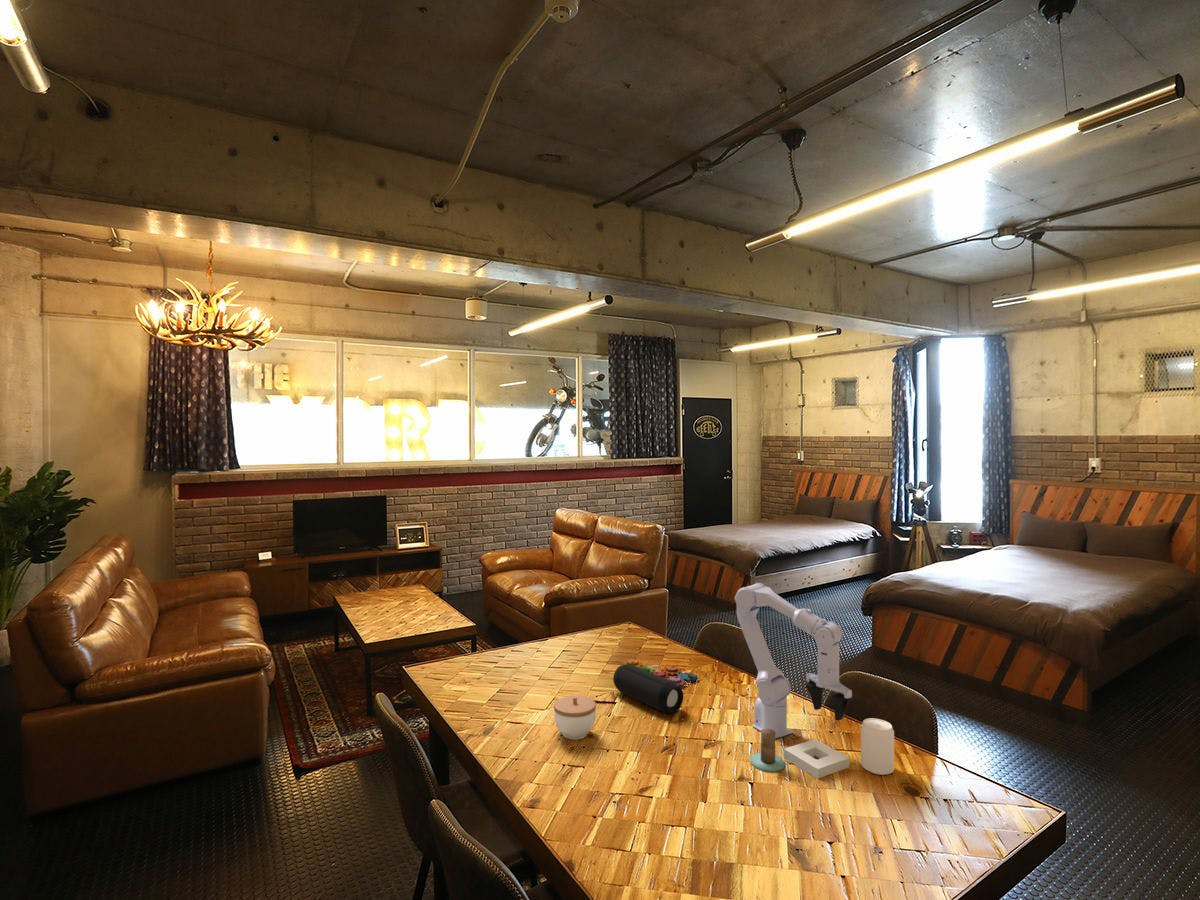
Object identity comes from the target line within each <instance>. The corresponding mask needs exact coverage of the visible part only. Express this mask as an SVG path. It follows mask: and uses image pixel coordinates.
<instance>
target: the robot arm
mask: <svg viewBox="0 0 1200 900" xmlns="http://www.w3.org/2000/svg"><path fill="white" fill-rule="evenodd" d="M733 600H734V601H735V604H736V618H737V621H738V624H739V626H740V628H741V631H742V634H743V636H744V639H745V641H746V644H747V646H748V649H749V651H750V654H751V656H752V659H753V660H752V661H753V662H754V665H755V667H756V669H757V675H756V676H757V677H756V679H755V682H756V685H757V695H758V698H756V700H755V702H754V706H753V707H754V709H753V711H754V719H753V720H754V724H752V725H751V726H752V727H753V728H754V729H756V730H758V731H760V732H761V730H762V729H764V728H768V729H772V730H774V731H775V740H776V739H778V738H782V737H785V736H788V735H791V734H794V731H793V730H791V729H790V728H788V727H787V726H788V723H787V722H788V721H787V720H788V719H787V718H788V717H787V715H788V714H787V713H788V710H787V709H788V705H787V704H788V703H787V700H788V699H787V698H788V696H789V695H790V694H791V690H792V686H791V683H790V681H789V680H788V679H787V678H786V677H785V675H784V674H783V671H782V670H781V669H779V668H778V667H777V666H776V664H775V662H774V659H773V658H772V655H771V652H770V649H769V647H768V645H767V642H766V639H765V637H764V634H763V632H762V629H761V627H760V623H759V621H758V618H757V615H758V613H759V610H760V608H761V607H770V608H772V609H774V610H775V611H777V612H779V613H780V614H782V615H785V616H786V617H789V618H790V619H791V620H792V622H793V625H794V626H795V627H797V628H799V629H800V630H802V631H803V632H805V633H807V634H808V635H809V636H811V637H812V638H814V641H815V642H816V644H817V674H815V673H812V672H810V673H809V672H808V673H806V676H805V677H806V679H805V681H807V682H808V683H806V684H805V687H806V690H807V691H808V692H809V695H810V698H811V702H812V706H813V709H814V710H816V711H818V710H821V709H822V705H823V692H824V689H827V690H830V691H832V692H834V693H836V694H833V695H831V699H832V702H833V708H834V718H835V720H836V721H837V722H839V721H841V720H843V719H844V715H845V711H846V708H847V706H848V704H849V702H850V701H851V700H852V699H853V698H852V697H853V691H852V689H850V688H848V687H847V686H845V685H844V684H842V683H841V682H840V641H841V640H842V639H843V636H844V635H843V634H844V633H843V630H842V627H841V626H840V625H839V624H837V623H836V622H835V621H831V620H830V621H827V619H825V618H822V617H820V616H818V615H816V614H815V613H813V610H812V609H810V608H805V607H804V608H803V607H802V608H797V607H796V606H794V605H793V604H792V603H790V602H789V601H787V599H784V598H783V597H781V596H780V595H779V594H778V593H776V592H775V591H773V590H772V588H771V587H769V586H766V585H765V584H764V583H762V582H755V583H754V584H752V585H748V586H743V587H741V588H739V589H738V590H737V592H736V594H735V596H734V599H733Z"/></svg>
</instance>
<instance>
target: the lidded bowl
mask: <svg viewBox="0 0 1200 900" xmlns="http://www.w3.org/2000/svg"><path fill="white" fill-rule="evenodd" d="M596 708H597V703H596V701H595V700H594V699H593V698H591V697H588V696H584V695H567V696H562V697H560V698H558V699H557V700H556V701H555V702H554V703H553V710H554V721H555V726H556V727H557V729H558V731H559V732H560V733H561V734H562V736H563V738H565V739H567V740H568V739H569V740H573V741H575V740H581V739H584V738H585V737H587V734H589V732H591V730H592V728H593V727H594V724H595V720H596Z"/></svg>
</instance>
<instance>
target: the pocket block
mask: <svg viewBox="0 0 1200 900" xmlns="http://www.w3.org/2000/svg"><path fill="white" fill-rule="evenodd" d="M815 757H816V758H818V759H816V758H815ZM783 758H784V759H785V760H787V761H788V762H790V763H792V764H793V765H795V766H796V767H798V768H799V769H801V770H803V771H805V772H806V773H808V774H809V775H811V776H813V777H814V778H816V779H818V780H819V779H821V778H823V777H826V776H828V775H829V776H830V775H833V774H835V773H837V772H840V771H842V770H846V769H848V768H850V757H849V756H847V755H845V754H843V753H841V752H839V751H838V750H836V749H834V748H832V747H830V746H828V745H827V744H825V743H823V742H821V741H819V740H818V739H815V738H814V739H810V740H807V741H804V742H801V743H798V744H794V745H792V746H789V747H785V748H783Z"/></svg>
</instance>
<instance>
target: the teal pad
mask: <svg viewBox="0 0 1200 900" xmlns="http://www.w3.org/2000/svg"><path fill="white" fill-rule="evenodd" d="M750 764H751V766H753V767H754V768H755V769H757V770H759V771H763V772H766V773H767V772H768V773H769V772H770V773H777V772H780V771H782V770H784V769H785V764H786V763H785V760H784V759H783V758H782V757H780V756H779V755H777V754H775V763H774V764H765V763H763V762H762V761H761V752H756V753H754V754H753V755H751V756H750Z"/></svg>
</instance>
